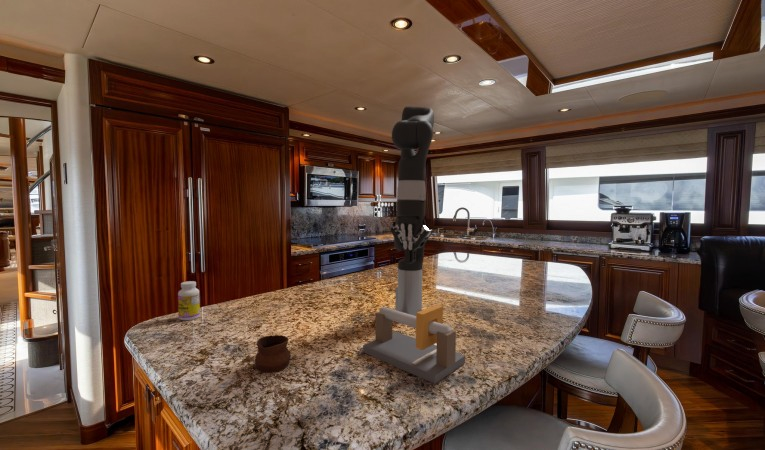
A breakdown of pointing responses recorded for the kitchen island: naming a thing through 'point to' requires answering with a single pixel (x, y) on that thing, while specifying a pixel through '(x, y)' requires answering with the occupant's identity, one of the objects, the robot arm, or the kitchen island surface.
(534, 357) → the kitchen island surface
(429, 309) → the orange square ring
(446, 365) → the pipe stand
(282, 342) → the ceramic pot
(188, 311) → the supplement bottle
